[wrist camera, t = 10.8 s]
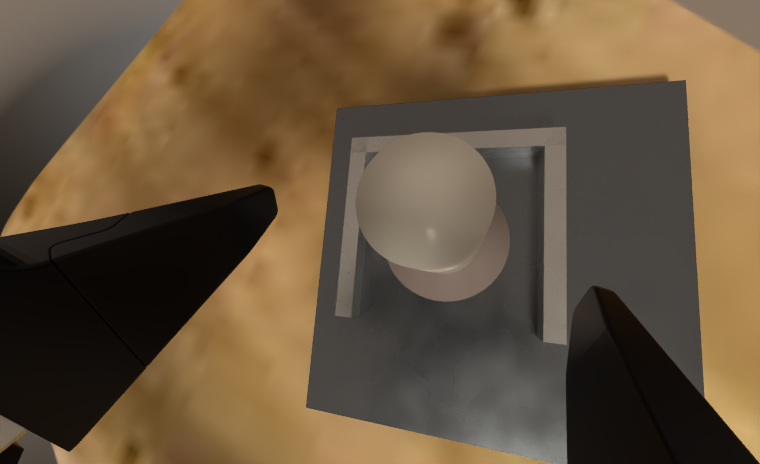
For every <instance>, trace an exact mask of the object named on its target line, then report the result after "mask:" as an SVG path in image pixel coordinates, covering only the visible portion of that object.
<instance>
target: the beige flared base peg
mask: <svg viewBox="0 0 760 464" xmlns="http://www.w3.org/2000/svg"><path fill="white" fill-rule="evenodd" d="M356 215H357V220H358V223H359V226H360V229H361V231H362V233H363V235H364V237H365V238H366V240H367V241H368V243H369V244H370V245H371V246H372V248H373V249H374V250H375V251H377V252H378V253H379V254H380V255H381V256H383V257H384V258H386V259H387V261H388V263H389V265H390V268H391V270H392V271H393V273H394V274H395V276H396V277H397V278H398V280H399V281H400V282H401V283H402V284H403V285H404V286H405V287H407V288H408V289H409V290H411V291H412V292H414V293H416V294H417V295H419V296H422V297H424V298H427V299H431V300H435V301H443V302H446V301H458V300H463V299H466V298H469V297H472V296H474V295H476V294H478V293H480V292H481V291H483V290H484V289H486V288H487V287H488V286H489V285H490V284H491V283H492V282H493V281H494V280H495V279H496V278H497V277H498V275H499V274H500V272H501V271H502V269H503V267H504V265H505V263H506V260H507V257H508V253H509V247H510V234H509V227H508V223H507V220H506V218H505V215H504V213H503V211H502V210H501V208H500V206H499V205H498V204H497V203H496V187H495V182H494V178H493V175H492V173H491V170H490V168H489V166H488V165H487V163H486V161H485V160H484V159H483V157H482V156H481V155H480V154H479V153H478V152H477V151H476V150H475V149H474V148H473V147H472V146H470V145H469V144H468V143H466V142H464V141H463V140H461V139H459V138H457V137H454V136H451V135H448V134H443V133H436V132H422V133H415V134H411V135H408V136H404V137H402V138H400V139H397V140H395V141H394V142H392V143H390V144H388V145H387V146H386V147H384V148H383V149H382V150H381V151H379V152H378V153H377V154H376V155H375V156H374V158H373V159H372V160H371V161H370V162H369V164H368V165H367V167H366V168H365V170H364V172H363V174H362V176H361V179H360V181H359V184H358V188H357V192H356Z"/></svg>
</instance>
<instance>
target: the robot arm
mask: <svg viewBox="0 0 760 464" xmlns="http://www.w3.org/2000/svg"><path fill="white" fill-rule="evenodd" d="M277 212H278V208H277V203H276V198H275V194H274V190H273V189H272V188H271V187H268V186H265V185H261V184H259V185H254V186H250V187H245V188H240V189H236V190H231V191H227V192H222V193H218V194H213V195H208V196H204V197H199V198H195V199H190V200H186V201H181V202H176V203H172V204H167V205H163V206H158V207H153V208H149V209H144V210H140V211H135V212H132V213H126V214H121V215H117V216H112V217H107V218H102V219H98V220H93V221H88V222H82V223H77V224H72V225H66V226H61V227H55V228H50V229H44V230H38V231H33V232H27V233H21V234H16V235H10V236H4V237H0V464H18V461H19V459H20V457H21V455H22V452H23V450H24V448H23V447H22V446H20V445H19V444H18V443H17V442H16V440H17V439H18V438H19V437H21V436H22V435H23V434H24V433H25V432H27V431H28V430H29V431H31V432H33V433H35V434H37V435H38V436H40V437H42V438H44V439H46V440H48V441H50V442H51V443H53V444H55V445H57V446H59V447H61V448H63V449H65V450H66V451H68V452H69V451H71V450H72V449H73V448H74V447H75V446H76V445H77V444H78V443H79V442H80V441H81V440H82V439H83V438H84V437H85V436H86V435H87V434H88V432H89V431H90V430H91V429H92V428H93V427H94V426H95V425H96V423H97V422H98V421H99V420H100V419H101V418H102V417H103V416H104V415H105V413H106V412H107V411H108V410H109V409H110V408H111V407H112V406H113V405H114V403H115V402H116V401H117V400H118V399H119V398H120V397H121V396H122V394H123V393H124V392H125V391H126V390H127V389H128V388H129V387H130V386H131V384H132V383H133V382H134V381H135V380H136V379H137V378H138V377H139V375H140V374H141V373H142V372H143V371H144V370H145V369H146V366H148V365H149V364H150V363H151V362H152V361H153V359H154V358H155V357H156V356H157V355H158V354H159V353H160V352H161V351H162V349H163V348H164V347H165V346H166V345H167V344H168V343H169V342H170V341H171V339H172V338H173V337H174V336H175V335H176V334H177V333H178V332H179V330H180V329H181V328H182V327H183V326H184V325H185V324H186V323H187V322H188V320H189V319H190V318H191V317H192V316H193V315H194V314H195V313H196V312H197V310H198V309H199V308H200V307H201V306H202V305H203V304H204V303H205V302H206V300H207V299H208V298H209V297H210V296H211V295H212V294H213V293H214V291H215V290H216V289H217V288H218V287H219V286H220V285H221V284H222V283H223V281H224V280H225V279H226V278H227V277H228V276H229V275H230V274H231V273H232V271H233V270H234V269H235V268H236V267H237V266H238V265H239V264H240V262H241V261H242V260H243V259H244V258H245V257H246V256H247V255H248V253H249V252H250V251H251V250H252V248H253V247H254V246H255V244H256V243H257V242H258V240H259V239H260V238H261V236H262V235H263V234H264V232H265V231H266V229H267V228H268V227H269V225H270V224H271V223H272V221H273V220H274V218H275V217H276V215H277ZM566 429H567V464H760V463H759V462H758V461H757V460H756V459H755V457H754V456H753V455H752V454H751V453H750V451H749V450H748V449H747V448H746V447H745V445H744V444H743V443H742V442H741V441H740V440H739V438H738V437H737V436H736V435H735V434H734V432H733V431H732V430H731V429H730V428H729V427H728V425H727V424H726V423H725V422H724V421H723V419H722V418H721V417H720V416H719V415H718V413H717V412H716V411H715V410H714V409H713V408H712V406H711V405H710V404H709V403H708V402H707V400H706V399H705V398H704V397H703V396H702V395H701V393H700V392H699V391H698V390H697V389H696V387H695V386H694V385H693V384H692V383H691V381H690V380H689V379H688V378H687V377H686V376H685V374H684V373H683V372H682V371H681V370H680V368H679V367H678V366H677V365H676V364H675V363H674V361H673V360H672V359H671V358H670V357H669V355H668V354H667V353H666V352H665V351H664V349H663V348H662V347H661V346H660V345H659V344H658V342H657V341H656V340H655V339H654V338H653V336H652V335H651V334H650V333H649V332H648V331H647V329H646V328H645V327H644V326H643V325H642V323H641V322H640V321H639V320H638V319H637V317H636V316H635V315H634V314H633V313H632V312H631V310H630V309H629V308H628V307H627V306H626V304H625V303H624V302H623V301H622V300H621V299H620V297H619V296H618V295H617V294H616V293H615V292H614V291H612V290H609V289H606V288H603V287H599V286H591V287H590V288H589V289H588V290H587V292H586V293H585V295H584V296H583V297H582V299H581V300H580V302H579V303H578V304H577V306H576V307H575V310H574V312H573V317H572V325H571V333H570V342H569V350H568V358H567V368H566Z"/></svg>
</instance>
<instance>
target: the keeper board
mask: <svg viewBox="0 0 760 464" xmlns="http://www.w3.org/2000/svg"><path fill="white" fill-rule="evenodd" d="M422 132H436V133H443V134H448V135H451V136H454V137H457V138H459V139H461V140H463V141H464V142H466V143H468V144H469V145H470V146H472V147H473V148H474V149H475V150H476V151H477V152H478V153H479V154H480V155H481V156H482V157H483V159H484V160H485V161H486V163H487V165H488V166H489V168H490V170H491V173H492V175H493V178H494V182H495V187H496V203H497V204H498V205H499V206H500V208H501V210H502V211H503V213H504V215H505V218H506V220H507V223H508V227H509V234H510V247H509V253H508V257H507V260H506V263H505V265H504V267H503V269H502V271H501V272H500V274H499V275H498V277H497V278H496V279H495V280H494V281H493V282H492V283H491V284H490V285H489V286H488V287H487V288H486V289H484V290H483V291H481V292H480V293H478V294H476V295H474V296H472V297H469V298H466V299H463V300H458V301H446V302H443V301H435V300H431V299H427V298H424V297H422V296H419V295H417V294H416V293H414V292H412V291H411V290H409V289H408V288H407V287H405V286H404V285H403V284H402V283H401V282H400V281H399V280H398V278H397V277H396V276H395V274H394V273H393V271H392V270H391V268H390V265H389V263H388V261H387V259H386V258H384V257H383V256H381V255H380V254H379V253H378V252H377V251H375V250H374V249H373V248H372V246H371V245H370V244H369V243H368V241H367V240H366V238H365V237H364V235H363V233H362V231H361V229H360V226H359V223H358V220H357V215H356V192H357V188H358V184H359V181H360V179H361V176H362V174H363V172H364V170H365V168H366V167H367V165H368V164H369V162H370V161H371V160H372V159H373V158H374V156H375V155H376V154H377V153H378V152H379V151H381V150H382V149H383V148H384V147H386V146H387V145H388V144H390V143H392V142H394V141H395V140H397V139H400V138H402V137H404V136H408V135H411V134H415V133H422ZM591 286H599V287H603V288H606V289H609V290H612V291H614V292H615V293H616V294H617V295H618V296H619V297H620V299H621V300H622V301H623V302H624V303H625V304H626V306H627V307H628V308H629V309H630V310H631V312H632V313H633V314H634V315H635V316H636V317H637V319H638V320H639V321H640V322H641V323H642V325H643V326H644V327H645V328H646V329H647V331H648V332H649V333H650V334H651V335H652V336H653V338H654V339H655V340H656V341H657V342H658V344H659V345H660V346H661V347H662V348H663V349H664V351H665V352H666V353H667V354H668V355H669V357H670V358H671V359H672V360H673V361H674V363H675V364H676V365H677V366H678V367H679V368H680V370H681V371H682V372H683V373H684V374H685V376H686V377H687V378H688V379H689V380H690V381H691V383H692V384H693V385H694V386H695V387H696V389H697V390H698V391H699V392H700V393H701V395H702V396H703V397H704V382H703V365H702V349H701V332H700V315H699V298H698V281H697V264H696V247H695V230H694V213H693V196H692V179H691V162H690V145H689V128H688V111H687V94H686V80H683V81H671V82H658V83H646V84H634V85H621V86H609V87H597V88H584V89H572V90H560V91H548V92H535V93H523V94H511V95H498V96H486V97H474V98H461V99H449V100H437V101H424V102H412V103H400V104H388V105H375V106H363V107H351V108H338V109H337V115H336V125H335V134H334V144H333V154H332V163H331V173H330V183H329V192H328V202H327V211H326V221H325V231H324V240H323V250H322V259H321V269H320V279H319V288H318V298H317V307H316V317H315V327H314V336H313V346H312V355H311V365H310V375H309V384H308V394H307V404H306V408H311V409H315V410H319V411H324V412H328V413H333V414H337V415H342V416H346V417H351V418H355V419H359V420H364V421H368V422H373V423H377V424H382V425H386V426H390V427H395V428H399V429H404V430H408V431H413V432H417V433H422V434H426V435H430V436H435V437H439V438H444V439H448V440H453V441H457V442H462V443H466V444H470V445H475V446H479V447H484V448H488V449H493V450H497V451H501V452H506V453H510V454H515V455H519V456H524V457H528V458H533V459H537V460H541V461H546V462H550V463H555V464H567V429H566V368H567V358H568V350H569V342H570V333H571V325H572V317H573V312H574V310H575V307H576V306H577V304H578V303H579V302H580V300H581V299H582V297H583V296H584V295H585V293H586V292H587V290H588V289H589V288H590V287H591Z"/></svg>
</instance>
